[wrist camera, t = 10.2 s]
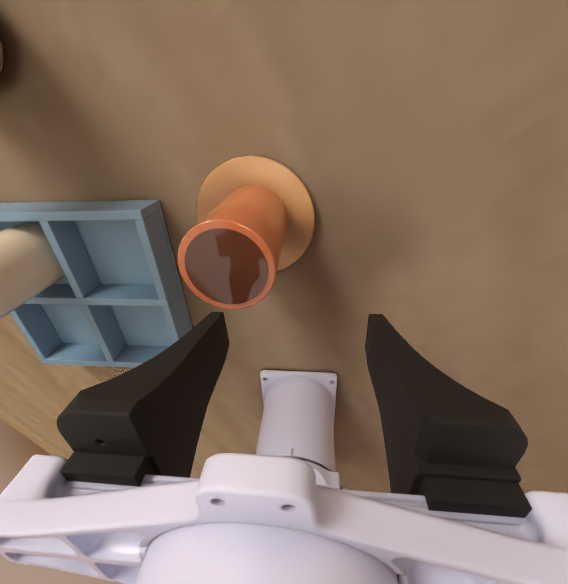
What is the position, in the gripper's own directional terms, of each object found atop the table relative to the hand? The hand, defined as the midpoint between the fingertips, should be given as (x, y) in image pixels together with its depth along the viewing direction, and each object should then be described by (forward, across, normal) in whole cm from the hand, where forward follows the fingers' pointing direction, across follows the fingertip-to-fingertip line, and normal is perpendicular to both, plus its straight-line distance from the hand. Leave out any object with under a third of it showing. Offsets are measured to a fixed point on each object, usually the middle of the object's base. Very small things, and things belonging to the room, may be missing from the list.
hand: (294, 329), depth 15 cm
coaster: (+10, +4, -2) cm, 11 cm away
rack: (+10, +19, +3) cm, 22 cm away
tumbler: (+10, +4, -2) cm, 11 cm away
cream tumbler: (+10, +22, 0) cm, 24 cm away
